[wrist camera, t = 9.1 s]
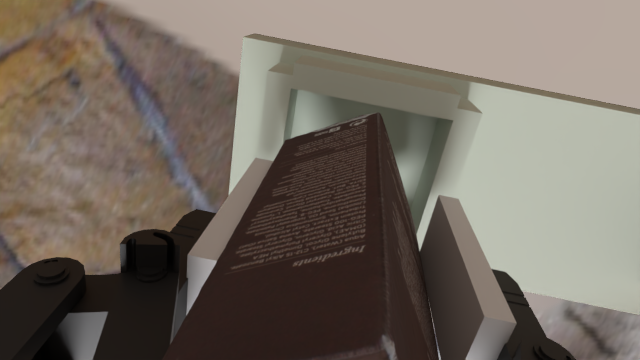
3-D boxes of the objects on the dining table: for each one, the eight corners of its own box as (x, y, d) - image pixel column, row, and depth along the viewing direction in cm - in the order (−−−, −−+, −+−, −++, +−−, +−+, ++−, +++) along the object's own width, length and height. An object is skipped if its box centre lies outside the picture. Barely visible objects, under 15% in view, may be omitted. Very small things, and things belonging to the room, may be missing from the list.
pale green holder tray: (236, 211, 24) (209, 255, 20) (254, 33, 20) (225, 41, 16) (750, 318, 23) (833, 386, 19) (880, 156, 19) (1020, 199, 15)
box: (276, 140, 17) (126, 389, 6) (380, 108, 16) (420, 333, 5) (323, 257, 19) (272, 595, 8) (418, 234, 18) (501, 582, 7)
